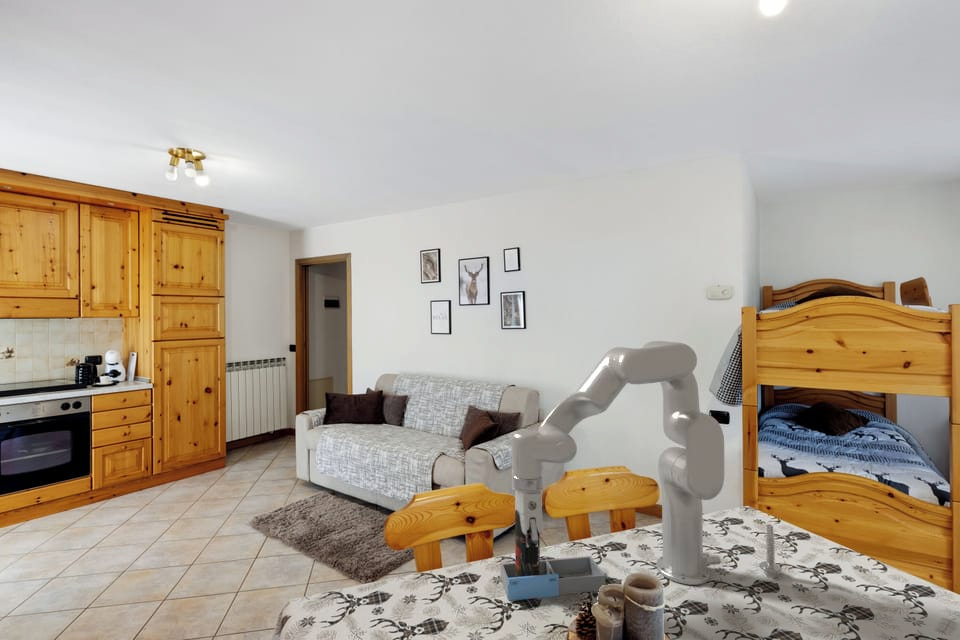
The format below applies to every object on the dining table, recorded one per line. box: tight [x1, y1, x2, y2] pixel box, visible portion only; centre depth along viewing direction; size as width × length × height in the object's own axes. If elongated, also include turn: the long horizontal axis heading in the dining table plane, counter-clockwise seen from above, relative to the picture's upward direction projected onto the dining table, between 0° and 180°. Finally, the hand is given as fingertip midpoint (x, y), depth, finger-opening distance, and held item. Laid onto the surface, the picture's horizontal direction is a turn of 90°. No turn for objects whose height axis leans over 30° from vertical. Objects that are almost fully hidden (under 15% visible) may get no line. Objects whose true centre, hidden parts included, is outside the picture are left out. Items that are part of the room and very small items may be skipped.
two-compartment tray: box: [499, 555, 606, 602], centre depth 111 cm, size 24×10×5 cm, turn 98°
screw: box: [758, 523, 783, 579], centre depth 114 cm, size 13×5×5 cm
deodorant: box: [514, 510, 541, 577], centre depth 110 cm, size 6×6×15 cm
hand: (527, 554), depth 110 cm, fingers closed on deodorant, 5 cm apart
